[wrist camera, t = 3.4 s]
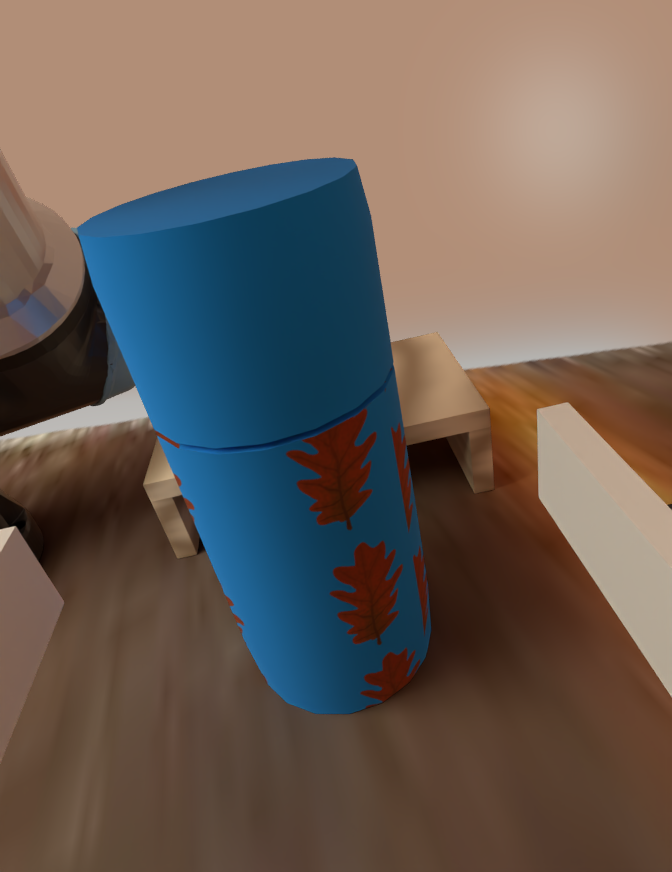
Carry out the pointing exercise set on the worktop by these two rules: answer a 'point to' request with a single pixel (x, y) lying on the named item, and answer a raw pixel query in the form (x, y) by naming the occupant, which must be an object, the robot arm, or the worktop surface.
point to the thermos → (278, 415)
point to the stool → (422, 419)
